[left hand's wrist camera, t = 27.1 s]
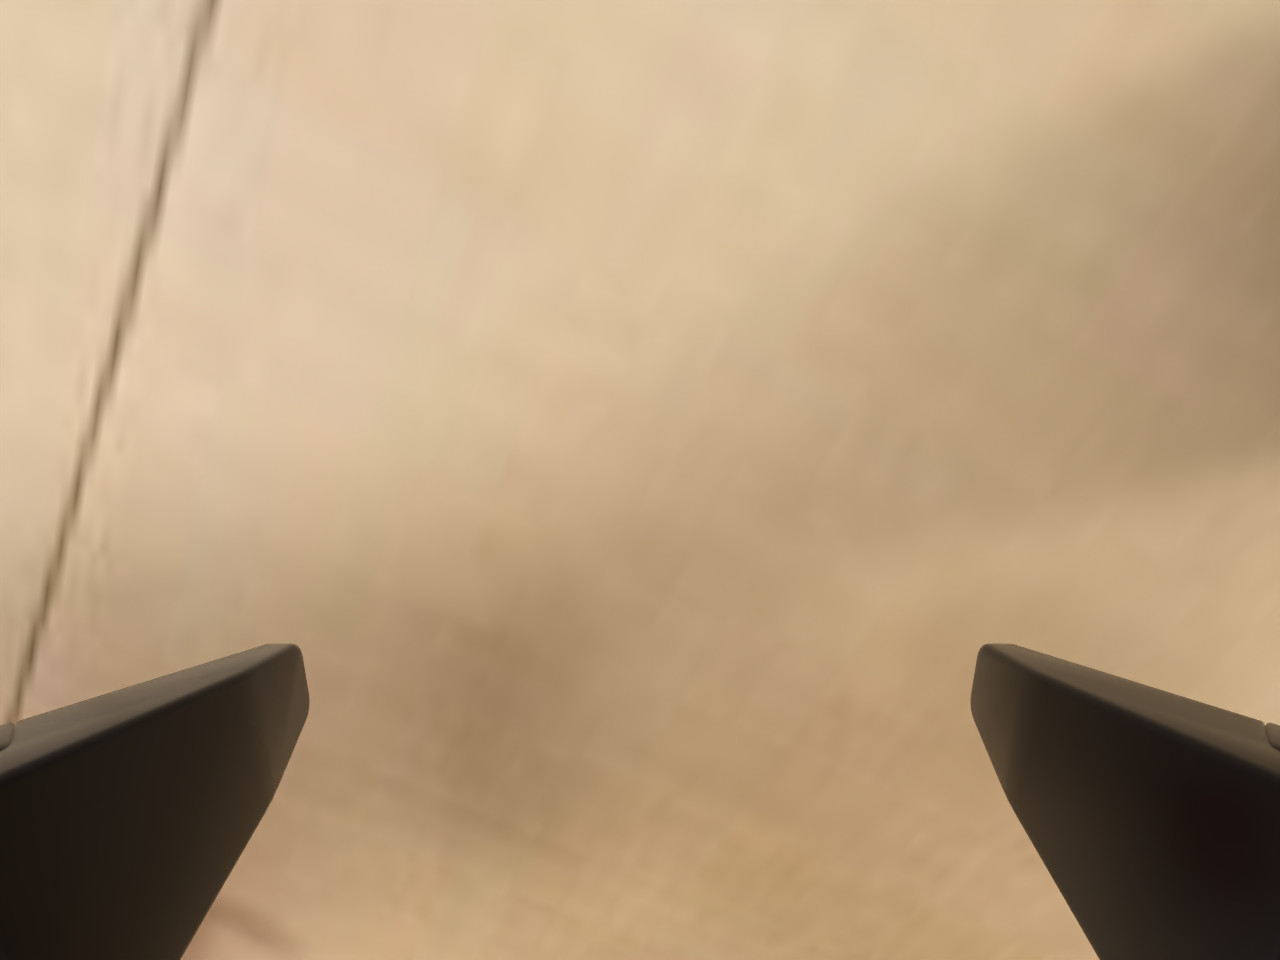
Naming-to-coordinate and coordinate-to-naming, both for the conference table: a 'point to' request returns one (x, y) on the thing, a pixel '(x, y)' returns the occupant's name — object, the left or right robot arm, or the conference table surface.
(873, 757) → the conference table surface
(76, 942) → the left robot arm
